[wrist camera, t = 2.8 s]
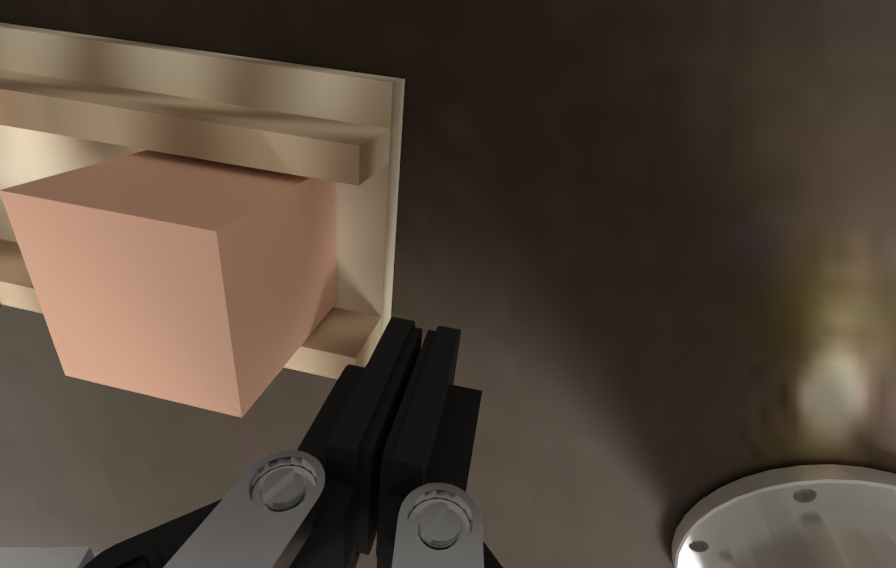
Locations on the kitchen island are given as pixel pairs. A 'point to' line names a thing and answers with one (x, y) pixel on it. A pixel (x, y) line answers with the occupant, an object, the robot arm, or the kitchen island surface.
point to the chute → (213, 149)
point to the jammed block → (178, 272)
